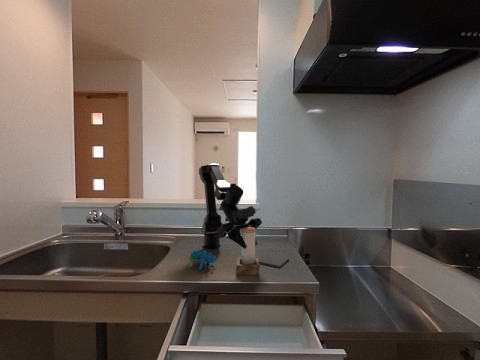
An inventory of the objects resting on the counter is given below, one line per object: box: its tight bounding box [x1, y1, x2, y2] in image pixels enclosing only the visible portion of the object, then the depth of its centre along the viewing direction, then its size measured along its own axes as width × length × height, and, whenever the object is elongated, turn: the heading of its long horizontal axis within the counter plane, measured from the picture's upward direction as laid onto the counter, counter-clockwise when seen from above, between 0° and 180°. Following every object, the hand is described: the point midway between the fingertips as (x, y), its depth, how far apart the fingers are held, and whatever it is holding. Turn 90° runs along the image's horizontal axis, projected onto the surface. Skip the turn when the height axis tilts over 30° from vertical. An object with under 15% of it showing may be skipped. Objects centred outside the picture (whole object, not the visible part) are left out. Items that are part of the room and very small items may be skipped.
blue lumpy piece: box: [187, 249, 217, 271], centre depth 105 cm, size 11×6×10 cm
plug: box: [240, 227, 256, 265], centre depth 103 cm, size 5×5×14 cm
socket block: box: [235, 257, 260, 276], centre depth 103 cm, size 8×8×4 cm
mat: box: [258, 253, 290, 269], centre depth 113 cm, size 10×10×1 cm
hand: (251, 246), depth 102 cm, fingers closed on plug, 5 cm apart
